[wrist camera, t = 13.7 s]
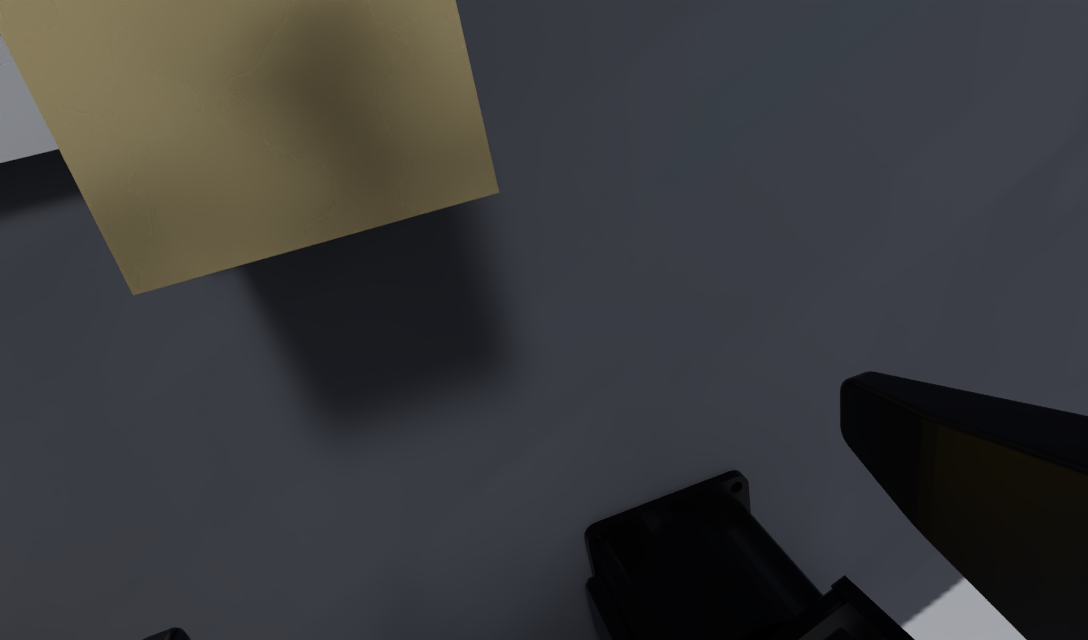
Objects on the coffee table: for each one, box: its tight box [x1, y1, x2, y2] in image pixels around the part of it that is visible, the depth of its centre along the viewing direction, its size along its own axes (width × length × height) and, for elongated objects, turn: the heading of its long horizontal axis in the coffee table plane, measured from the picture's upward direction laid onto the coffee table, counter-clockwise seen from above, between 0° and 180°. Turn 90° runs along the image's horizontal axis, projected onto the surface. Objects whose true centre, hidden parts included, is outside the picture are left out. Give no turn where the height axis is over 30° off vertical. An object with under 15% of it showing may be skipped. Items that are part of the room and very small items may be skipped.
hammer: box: [0, 34, 59, 163], centre depth 14 cm, size 17×7×4 cm, turn 102°
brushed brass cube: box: [0, 0, 499, 295], centre depth 13 cm, size 6×6×6 cm
